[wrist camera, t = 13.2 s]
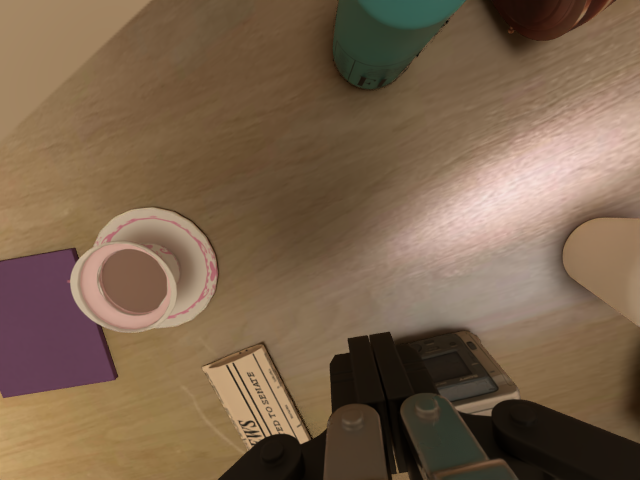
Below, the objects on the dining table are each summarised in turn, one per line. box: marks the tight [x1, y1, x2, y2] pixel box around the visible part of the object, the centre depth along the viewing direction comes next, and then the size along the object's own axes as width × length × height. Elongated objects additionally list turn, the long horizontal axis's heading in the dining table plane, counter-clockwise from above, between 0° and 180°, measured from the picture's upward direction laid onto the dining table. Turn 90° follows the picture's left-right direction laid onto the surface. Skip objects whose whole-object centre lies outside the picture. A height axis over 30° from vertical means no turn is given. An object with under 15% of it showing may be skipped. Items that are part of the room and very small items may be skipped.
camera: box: [393, 331, 521, 453], centre depth 32 cm, size 11×6×10 cm, turn 103°
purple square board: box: [0, 248, 118, 398], centre depth 36 cm, size 14×12×1 cm
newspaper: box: [202, 345, 311, 451], centre depth 38 cm, size 24×7×2 cm, turn 23°
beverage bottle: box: [333, 0, 466, 90], centre depth 21 cm, size 6×7×20 cm
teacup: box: [67, 207, 218, 333], centre depth 32 cm, size 12×12×6 cm
